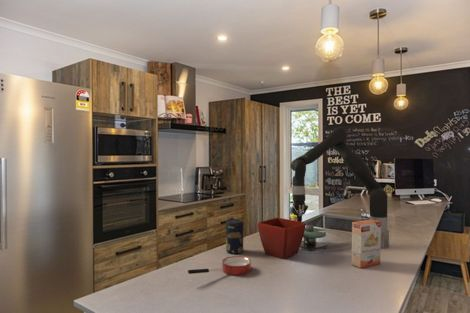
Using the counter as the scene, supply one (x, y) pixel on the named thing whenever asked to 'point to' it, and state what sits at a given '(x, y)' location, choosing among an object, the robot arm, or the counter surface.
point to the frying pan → (230, 266)
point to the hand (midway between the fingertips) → (299, 222)
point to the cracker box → (366, 243)
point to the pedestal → (311, 244)
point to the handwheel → (312, 231)
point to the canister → (234, 236)
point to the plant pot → (281, 236)
